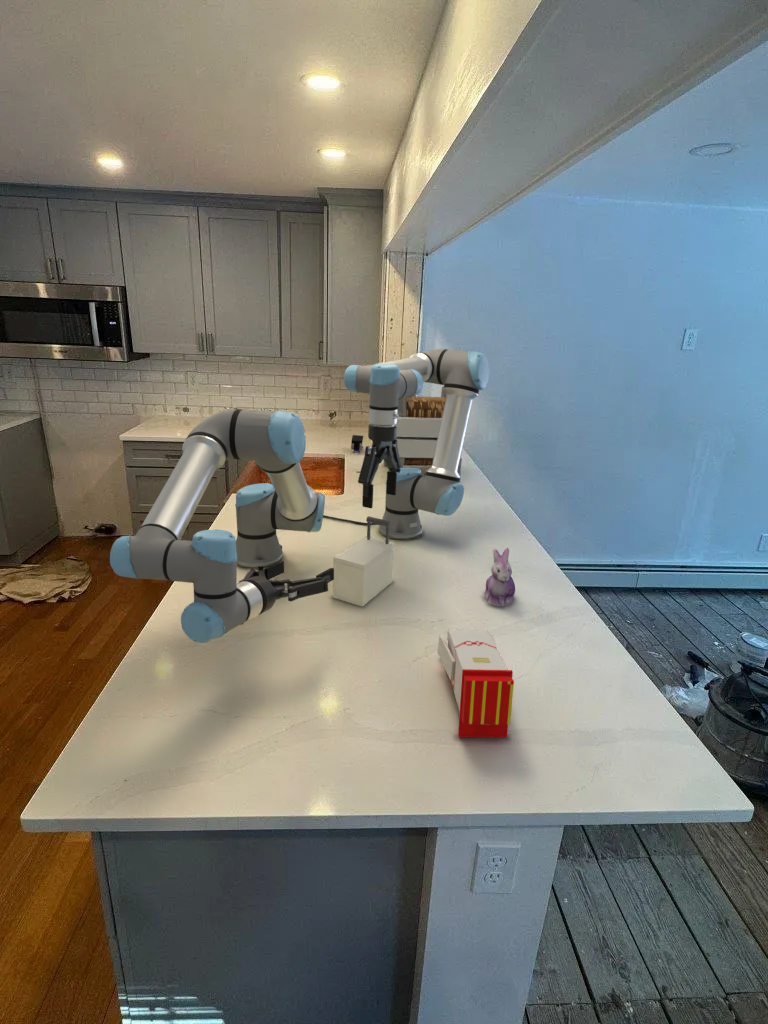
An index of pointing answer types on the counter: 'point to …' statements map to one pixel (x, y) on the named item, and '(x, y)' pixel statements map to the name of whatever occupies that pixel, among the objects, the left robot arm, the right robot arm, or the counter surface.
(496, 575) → the figurine
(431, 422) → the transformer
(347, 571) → the chest
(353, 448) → the figurine character
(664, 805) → the counter surface
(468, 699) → the toy
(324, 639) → the counter surface
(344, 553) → the lid
